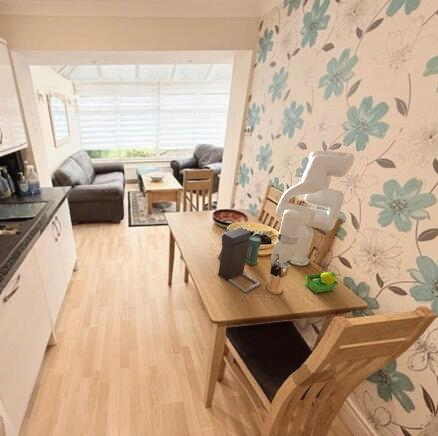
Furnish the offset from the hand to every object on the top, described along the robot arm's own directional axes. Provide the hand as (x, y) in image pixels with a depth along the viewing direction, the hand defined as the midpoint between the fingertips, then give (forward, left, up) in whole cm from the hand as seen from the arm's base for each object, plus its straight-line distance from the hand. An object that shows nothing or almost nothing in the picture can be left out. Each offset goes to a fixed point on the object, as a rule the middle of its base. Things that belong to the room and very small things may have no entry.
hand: (278, 272), depth 108 cm
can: (-10, -21, -10) cm, 25 cm away
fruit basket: (-19, +11, -10) cm, 24 cm away
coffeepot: (-2, -31, -10) cm, 33 cm away
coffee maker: (+8, -15, -10) cm, 20 cm away
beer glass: (0, 0, -10) cm, 10 cm away
